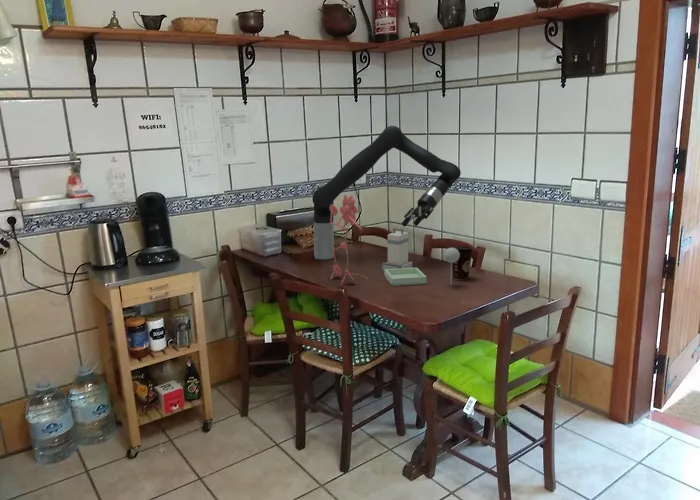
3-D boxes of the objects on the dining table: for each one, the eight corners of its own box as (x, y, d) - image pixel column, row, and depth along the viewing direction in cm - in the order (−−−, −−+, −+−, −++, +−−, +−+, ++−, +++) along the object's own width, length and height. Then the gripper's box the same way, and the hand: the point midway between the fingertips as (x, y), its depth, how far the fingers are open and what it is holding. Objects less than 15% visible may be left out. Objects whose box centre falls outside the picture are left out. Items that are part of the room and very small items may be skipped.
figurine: (349, 291, 209) (350, 199, 201) (319, 275, 231) (319, 192, 223) (383, 285, 216) (385, 197, 208) (351, 270, 238) (351, 190, 230)
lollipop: (449, 288, 211) (450, 250, 207) (439, 284, 216) (440, 247, 212) (461, 285, 213) (463, 248, 210) (452, 281, 218) (453, 245, 215)
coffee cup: (472, 276, 226) (474, 245, 223) (470, 282, 218) (471, 250, 215) (451, 274, 228) (452, 244, 225) (448, 280, 221) (449, 249, 218)
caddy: (398, 272, 233) (398, 231, 228) (387, 270, 236) (387, 229, 232) (408, 268, 239) (408, 227, 235) (397, 266, 242) (397, 226, 238)
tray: (392, 286, 214) (392, 278, 213) (384, 276, 228) (384, 269, 227) (426, 284, 216) (426, 276, 215) (416, 274, 230) (417, 267, 229)
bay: (400, 274, 230) (400, 266, 229) (382, 270, 236) (382, 263, 235) (412, 268, 238) (412, 261, 237) (394, 265, 244) (394, 258, 243)
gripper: (415, 194, 245) (394, 219, 239) (435, 191, 233) (413, 217, 227) (424, 207, 248) (404, 231, 242) (445, 204, 235) (424, 230, 230)
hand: (408, 224), depth 234 cm, fingers open, 8 cm apart
